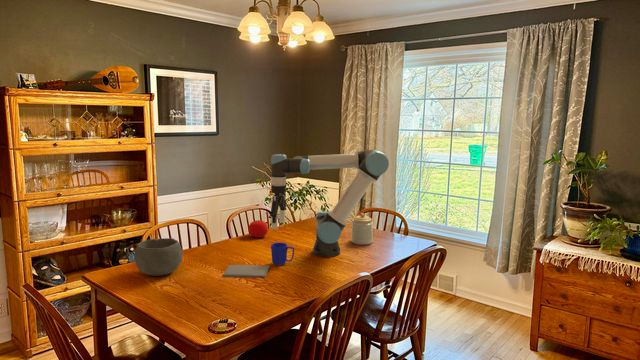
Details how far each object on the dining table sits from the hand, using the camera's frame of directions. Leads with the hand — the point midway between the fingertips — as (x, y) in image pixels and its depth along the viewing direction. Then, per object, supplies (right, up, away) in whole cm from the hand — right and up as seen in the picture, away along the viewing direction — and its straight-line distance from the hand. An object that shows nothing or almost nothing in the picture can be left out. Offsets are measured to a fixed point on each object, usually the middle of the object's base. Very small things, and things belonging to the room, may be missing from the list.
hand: (278, 225), depth 221 cm
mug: (+2, -20, -2) cm, 20 cm away
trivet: (-14, -21, -13) cm, 28 cm away
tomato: (-17, -12, +47) cm, 52 cm away
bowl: (-55, -21, -16) cm, 61 cm away
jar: (+47, -14, +38) cm, 62 cm away
